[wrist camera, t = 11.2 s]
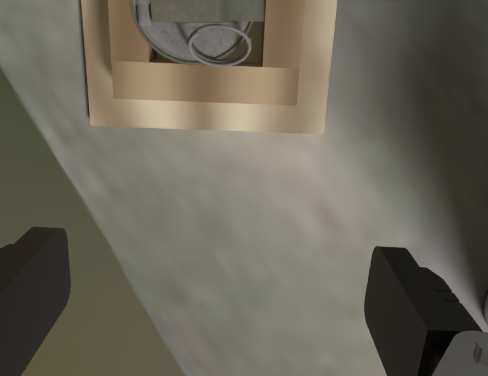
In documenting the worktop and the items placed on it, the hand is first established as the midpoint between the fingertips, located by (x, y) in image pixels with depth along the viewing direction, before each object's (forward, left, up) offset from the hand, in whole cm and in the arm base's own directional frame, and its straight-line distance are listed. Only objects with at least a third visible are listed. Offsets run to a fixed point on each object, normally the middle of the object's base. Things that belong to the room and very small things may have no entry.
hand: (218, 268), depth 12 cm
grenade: (+2, -7, -25) cm, 26 cm away
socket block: (+2, -7, -25) cm, 26 cm away
